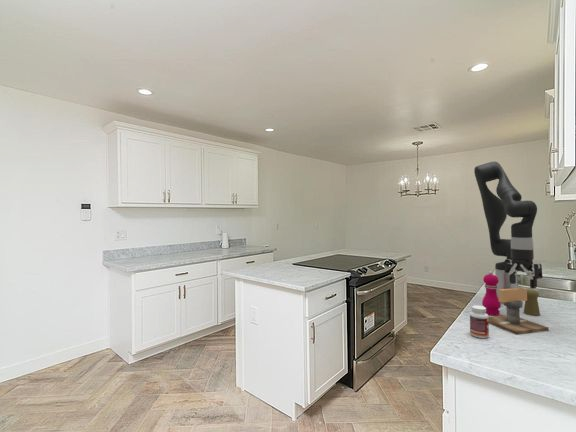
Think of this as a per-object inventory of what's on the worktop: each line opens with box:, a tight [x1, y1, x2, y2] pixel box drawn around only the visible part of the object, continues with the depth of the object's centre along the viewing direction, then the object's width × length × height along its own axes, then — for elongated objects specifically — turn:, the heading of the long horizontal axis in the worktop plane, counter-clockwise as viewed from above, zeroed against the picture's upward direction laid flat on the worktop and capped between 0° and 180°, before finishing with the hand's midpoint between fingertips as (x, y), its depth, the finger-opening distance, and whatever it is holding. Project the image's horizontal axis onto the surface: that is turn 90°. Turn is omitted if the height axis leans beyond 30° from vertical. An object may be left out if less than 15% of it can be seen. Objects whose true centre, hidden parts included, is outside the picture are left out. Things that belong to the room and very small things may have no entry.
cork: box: [523, 289, 541, 317], centre depth 138 cm, size 6×6×11 cm
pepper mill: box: [481, 270, 502, 316], centre depth 140 cm, size 7×7×20 cm
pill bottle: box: [469, 305, 490, 339], centre depth 115 cm, size 6×6×11 cm
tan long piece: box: [498, 285, 528, 309], centre depth 125 cm, size 6×12×8 cm, turn 100°
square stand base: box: [488, 306, 549, 336], centre depth 125 cm, size 16×16×8 cm
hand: (522, 285), depth 126 cm, fingers open, 8 cm apart
